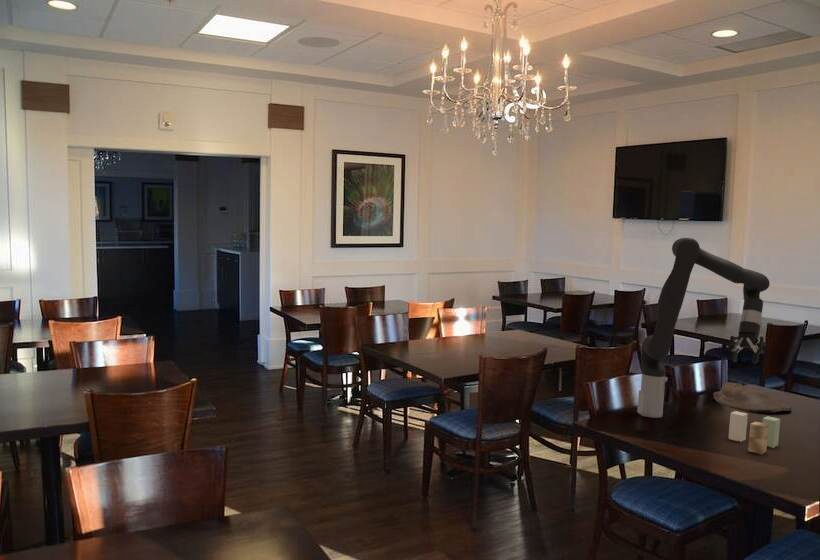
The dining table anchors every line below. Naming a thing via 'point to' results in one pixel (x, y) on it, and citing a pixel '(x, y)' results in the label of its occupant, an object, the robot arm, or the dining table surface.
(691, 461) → the dining table surface
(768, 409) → the flat cap
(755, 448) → the oak block
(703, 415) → the dining table surface
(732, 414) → the cream block
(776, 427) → the sage block
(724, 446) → the dining table surface
